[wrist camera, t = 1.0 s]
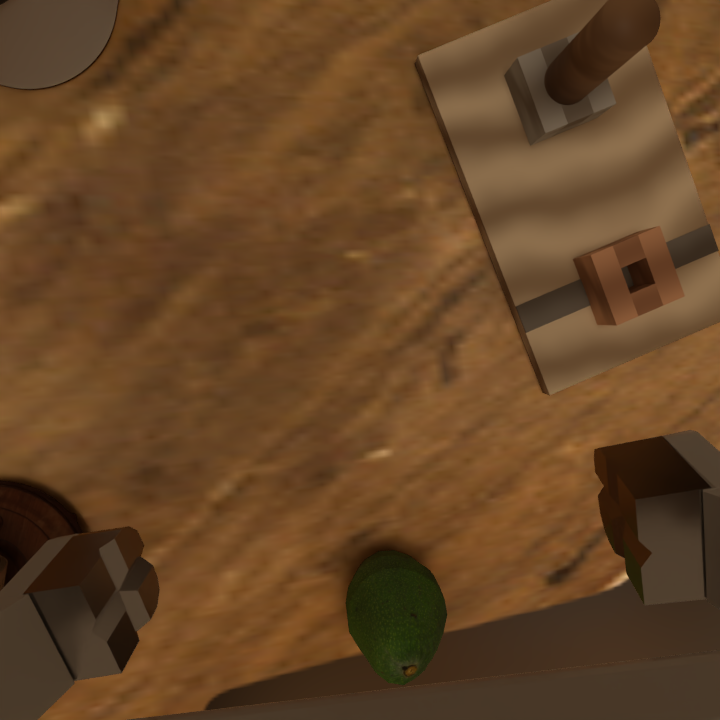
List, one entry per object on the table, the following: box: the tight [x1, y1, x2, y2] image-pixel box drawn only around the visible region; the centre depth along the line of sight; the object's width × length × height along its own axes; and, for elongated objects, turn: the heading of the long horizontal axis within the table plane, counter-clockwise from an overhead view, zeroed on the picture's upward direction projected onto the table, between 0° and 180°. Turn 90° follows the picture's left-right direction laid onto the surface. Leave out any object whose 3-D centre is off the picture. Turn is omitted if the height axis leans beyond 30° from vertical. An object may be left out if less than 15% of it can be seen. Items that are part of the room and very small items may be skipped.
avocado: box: [346, 550, 447, 685], centre depth 44 cm, size 8×8×12 cm
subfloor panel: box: [415, 0, 720, 395], centre depth 46 cm, size 30×18×5 cm, turn 23°
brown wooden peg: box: [544, 0, 660, 105], centre depth 40 cm, size 4×4×12 cm
